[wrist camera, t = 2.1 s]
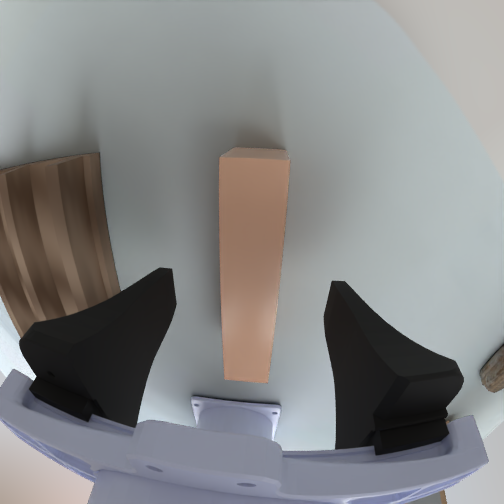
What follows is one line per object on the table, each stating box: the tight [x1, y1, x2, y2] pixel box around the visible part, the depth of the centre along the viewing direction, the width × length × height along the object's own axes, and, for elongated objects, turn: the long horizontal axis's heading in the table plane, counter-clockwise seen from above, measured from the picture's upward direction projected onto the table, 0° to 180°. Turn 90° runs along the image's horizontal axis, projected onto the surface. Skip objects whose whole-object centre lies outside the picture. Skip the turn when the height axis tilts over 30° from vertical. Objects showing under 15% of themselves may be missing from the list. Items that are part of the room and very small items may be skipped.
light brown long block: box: [219, 147, 290, 383], centre depth 14 cm, size 12×2×4 cm, turn 178°
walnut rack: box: [0, 153, 121, 338], centre depth 16 cm, size 18×12×3 cm, turn 178°
